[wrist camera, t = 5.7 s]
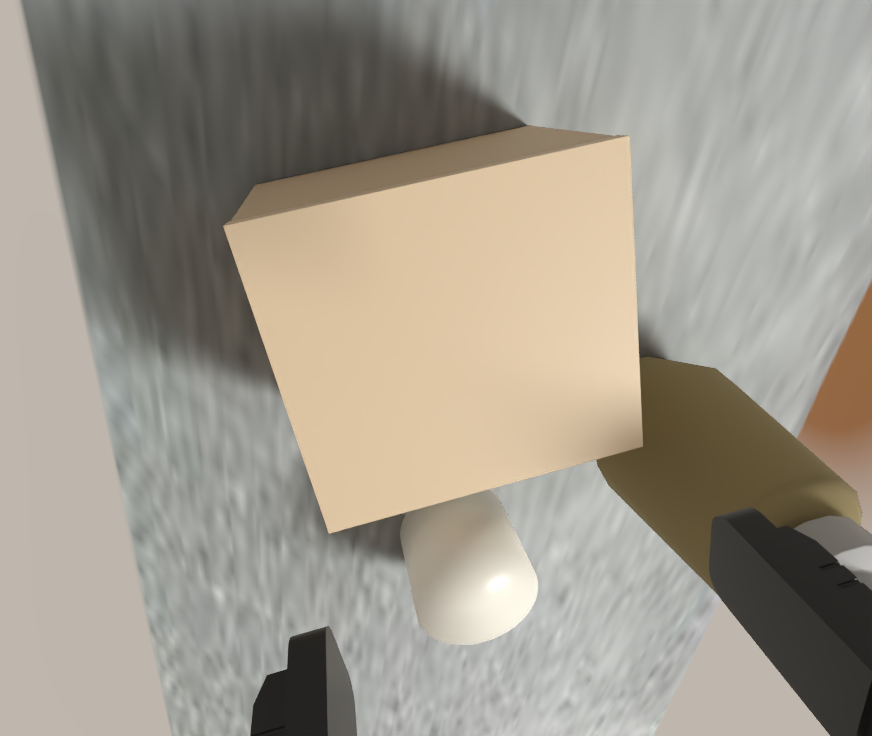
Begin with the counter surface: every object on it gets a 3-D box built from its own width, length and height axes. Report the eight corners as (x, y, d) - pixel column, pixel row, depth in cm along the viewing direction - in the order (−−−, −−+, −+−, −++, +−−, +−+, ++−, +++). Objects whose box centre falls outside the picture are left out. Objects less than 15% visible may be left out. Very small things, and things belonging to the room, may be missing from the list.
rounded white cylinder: (387, 503, 32) (402, 575, 27) (495, 469, 33) (528, 534, 28) (414, 581, 35) (431, 659, 30) (512, 549, 36) (545, 621, 31)
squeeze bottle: (579, 337, 30) (883, 609, 14) (715, 334, 32) (1127, 574, 16) (557, 466, 33) (782, 803, 17) (681, 457, 35) (992, 759, 19)
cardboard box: (255, 184, 24) (231, 220, 17) (527, 125, 25) (613, 135, 18) (325, 406, 29) (329, 507, 22) (550, 349, 30) (624, 426, 23)
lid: (227, 221, 17) (222, 226, 16) (617, 135, 18) (629, 135, 17) (328, 519, 21) (329, 533, 21) (632, 436, 22) (643, 446, 22)
